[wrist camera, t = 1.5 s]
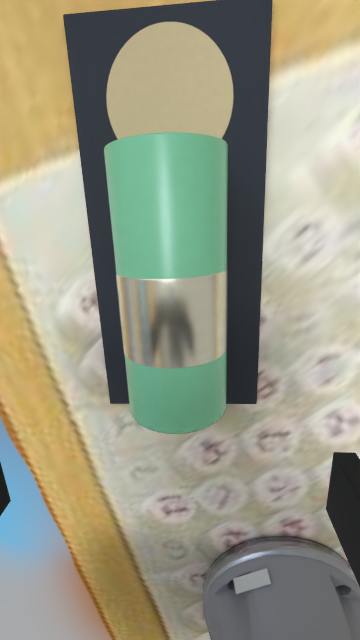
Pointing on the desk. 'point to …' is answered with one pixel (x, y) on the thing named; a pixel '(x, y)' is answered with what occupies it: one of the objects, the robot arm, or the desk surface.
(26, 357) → the desk surface
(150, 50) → the mat
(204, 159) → the can
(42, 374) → the desk surface
